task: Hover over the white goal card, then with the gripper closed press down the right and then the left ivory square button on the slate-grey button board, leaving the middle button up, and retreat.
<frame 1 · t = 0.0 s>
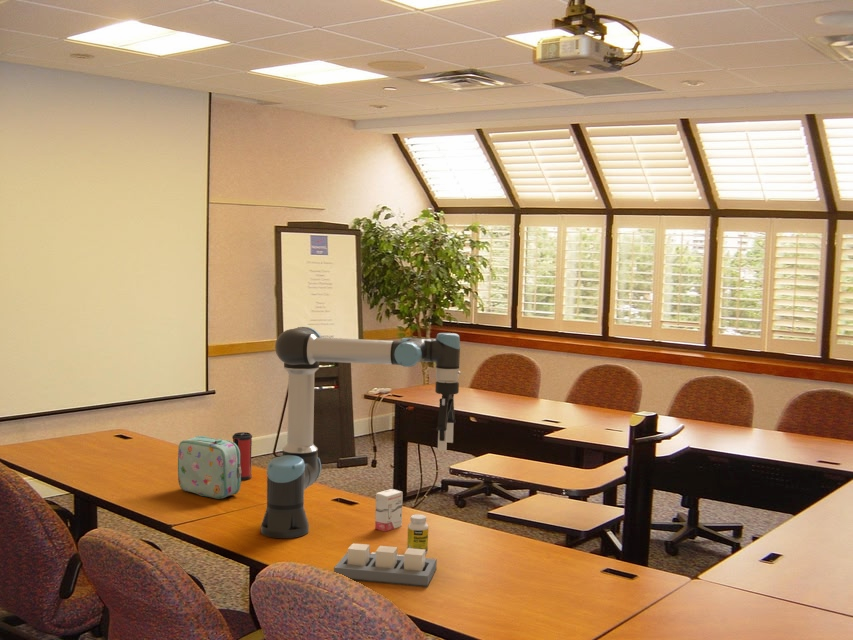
hand: (445, 446, 276), 28 cm above the table, fingers open, 13 cm apart
board: (386, 573, 238), on the table
button middle: (386, 557, 238), point 5 cm above the table, slide at 0.0 cm
lunch box: (210, 494, 317), on the table
red travel mug: (241, 478, 341), on the table
button left: (358, 554, 239), point 5 cm above the table, slide at 0.0 cm
pill bottle: (417, 553, 257), on the table
ink box: (388, 528, 281), on the table
button right: (414, 559, 236), point 5 cm above the table, slide at 0.0 cm
goal card: (388, 559, 250), on the table
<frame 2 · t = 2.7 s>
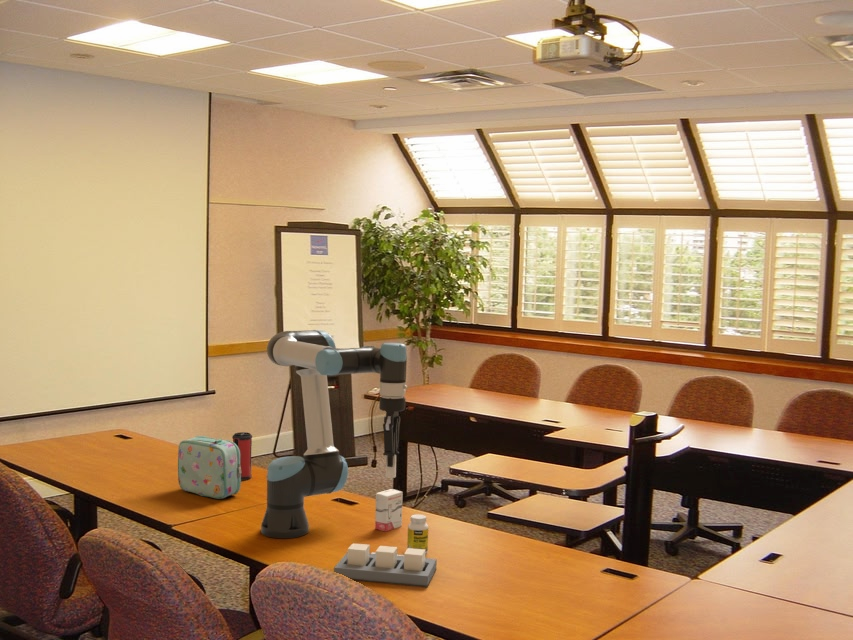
hand: (390, 476, 249), 24 cm above the table, fingers closed
nothing on the table moved.
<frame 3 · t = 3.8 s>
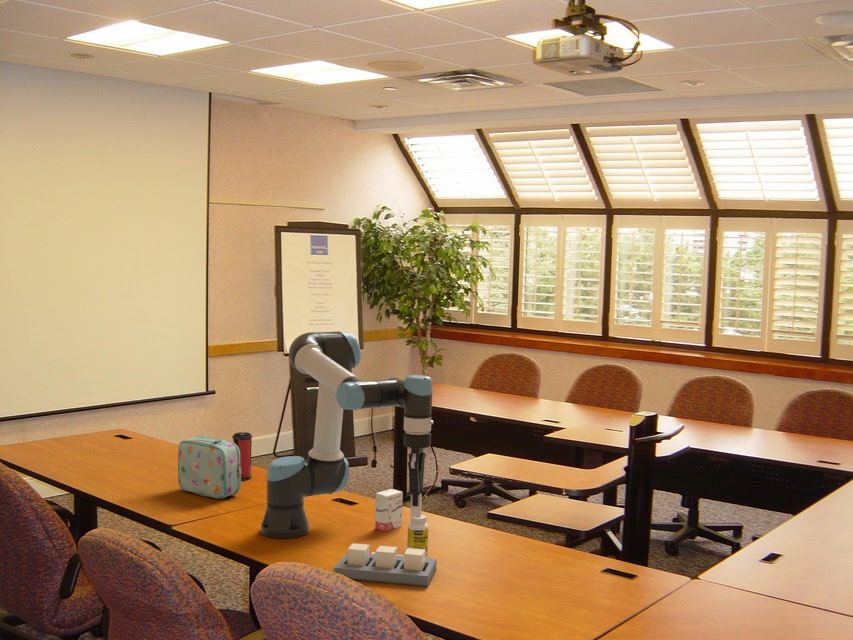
hand: (415, 516, 236), 17 cm above the table, fingers closed
nothing on the table moved.
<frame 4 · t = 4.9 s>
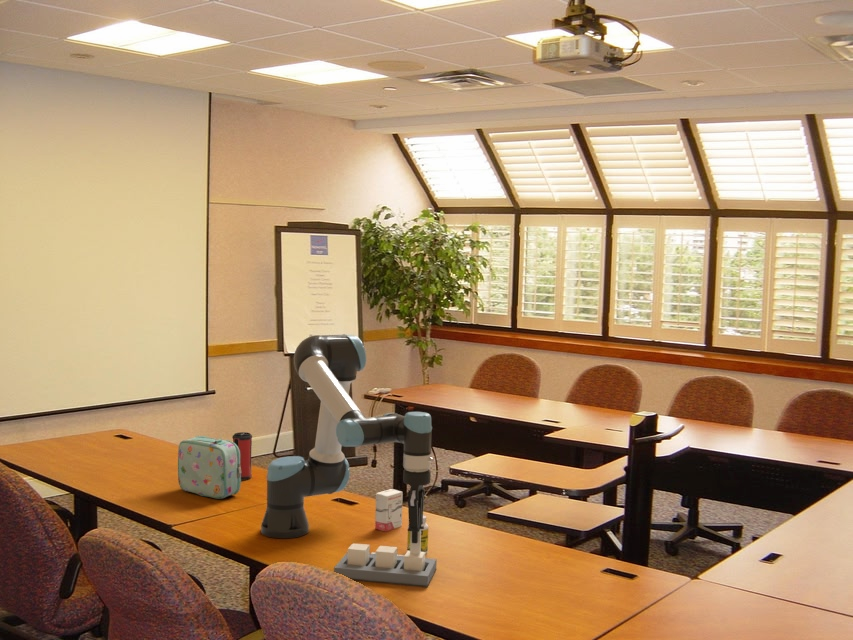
hand: (415, 553, 236), 7 cm above the table, fingers closed
button right: (414, 562, 236), point 4 cm above the table, slide at 0.7 cm, touching gripper
everything else where it was.
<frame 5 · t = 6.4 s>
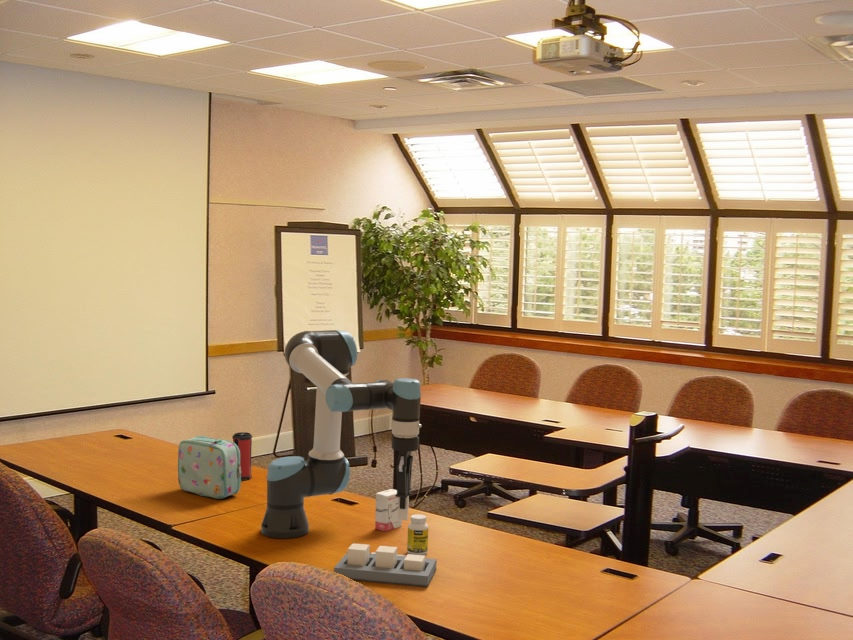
hand: (402, 519, 237), 16 cm above the table, fingers closed
button right: (414, 565, 236), point 3 cm above the table, slide at 1.7 cm
everything else where it was.
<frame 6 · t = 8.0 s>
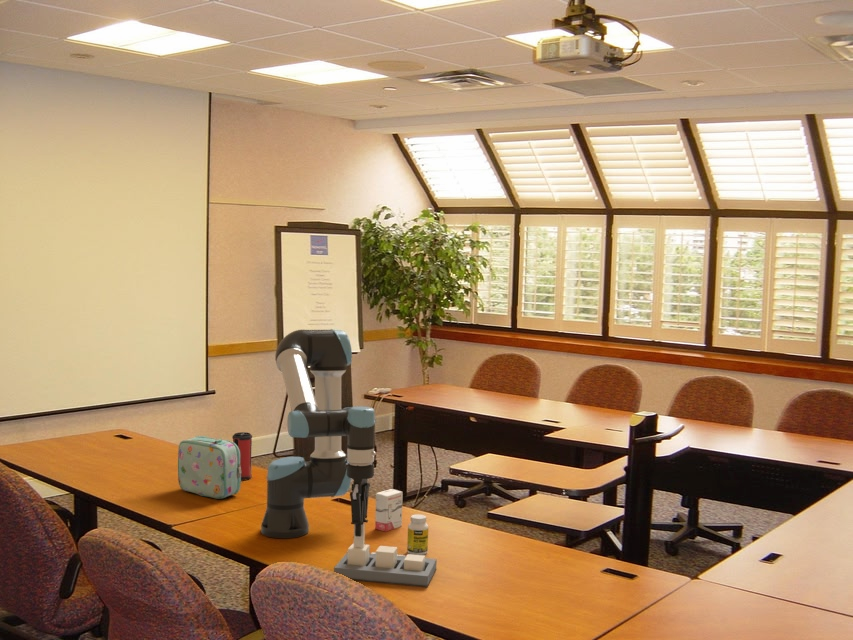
hand: (359, 546, 239), 7 cm above the table, fingers closed
button left: (358, 554, 239), point 5 cm above the table, slide at 0.1 cm, touching gripper
everything else where it was.
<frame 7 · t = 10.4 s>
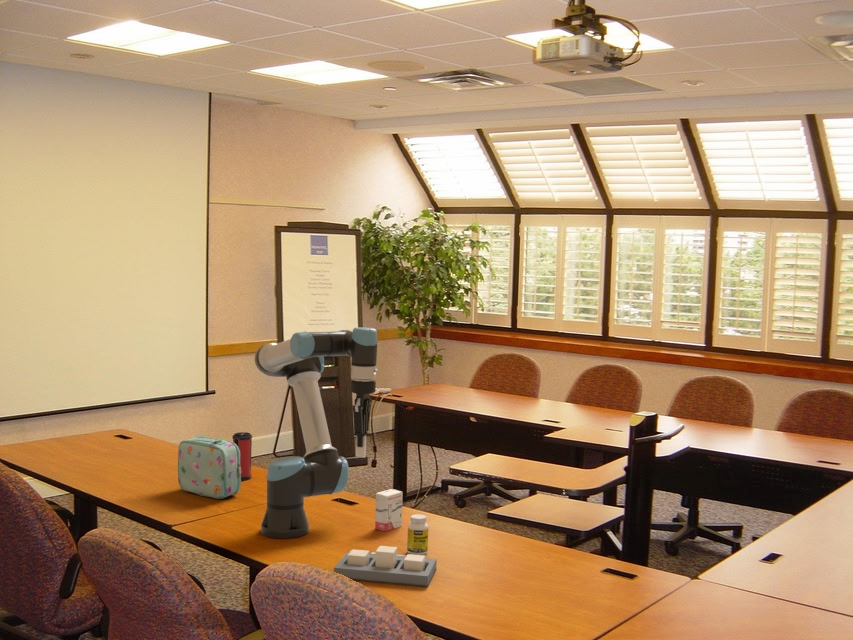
hand: (360, 456, 258), 28 cm above the table, fingers closed
button left: (358, 560, 239), point 3 cm above the table, slide at 1.7 cm
everything else where it was.
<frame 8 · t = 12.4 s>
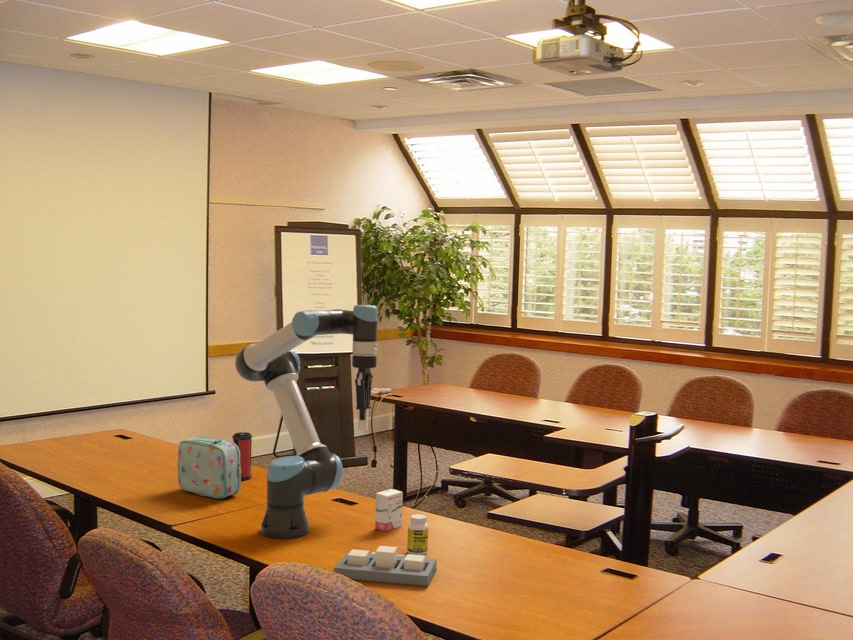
hand: (362, 429, 267), 34 cm above the table, fingers closed
nothing on the table moved.
at the end: button right slide at 1.7 cm; button left slide at 1.7 cm; button middle slide at 0.0 cm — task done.
